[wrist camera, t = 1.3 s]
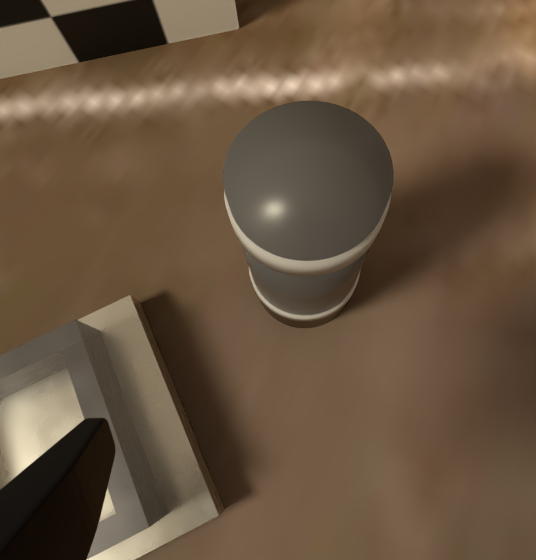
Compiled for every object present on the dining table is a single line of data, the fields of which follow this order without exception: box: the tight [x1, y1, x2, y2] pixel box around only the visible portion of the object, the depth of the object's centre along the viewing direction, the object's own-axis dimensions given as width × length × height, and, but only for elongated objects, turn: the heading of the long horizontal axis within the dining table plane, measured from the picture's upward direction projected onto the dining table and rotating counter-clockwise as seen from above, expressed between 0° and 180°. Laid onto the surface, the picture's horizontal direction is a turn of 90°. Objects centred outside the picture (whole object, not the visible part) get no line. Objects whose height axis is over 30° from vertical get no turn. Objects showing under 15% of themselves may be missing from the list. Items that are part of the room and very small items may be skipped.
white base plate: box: [0, 295, 224, 560], centre depth 20 cm, size 11×16×4 cm
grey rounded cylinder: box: [223, 101, 393, 328], centre depth 19 cm, size 5×5×11 cm
